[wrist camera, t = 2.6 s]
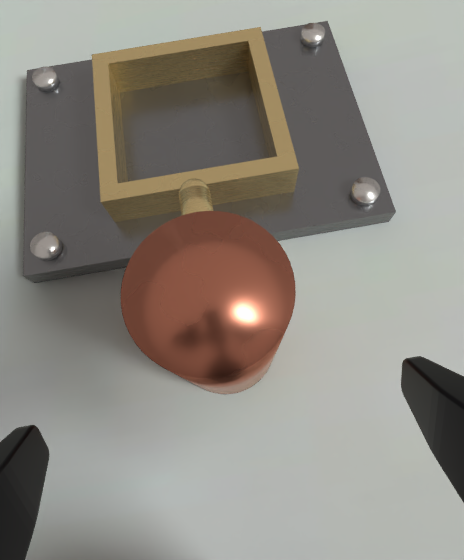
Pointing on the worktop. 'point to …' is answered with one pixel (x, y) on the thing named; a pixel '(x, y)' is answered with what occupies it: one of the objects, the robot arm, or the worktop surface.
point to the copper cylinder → (209, 295)
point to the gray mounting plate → (193, 145)
